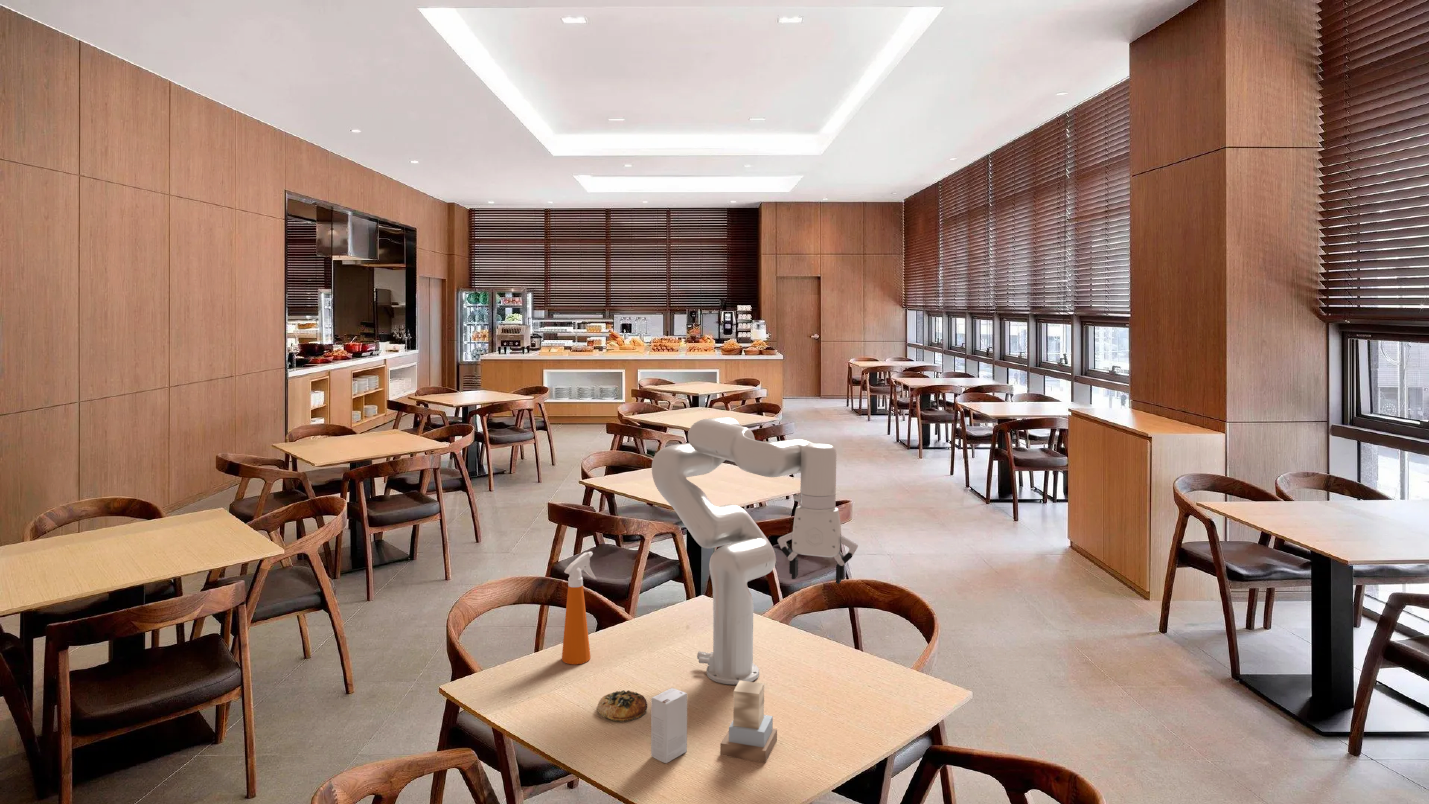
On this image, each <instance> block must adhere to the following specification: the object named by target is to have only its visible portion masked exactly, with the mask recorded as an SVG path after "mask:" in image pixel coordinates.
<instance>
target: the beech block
mask: <svg viewBox="0 0 1429 804" xmlns="http://www.w3.org/2000/svg"><path fill="white" fill-rule="evenodd" d="M732 707H733V708H732V709H733V718H732V721H733V726H738V727H746V728H753V729H759V727H760V725H761V723H762V721H763V718H764V715H765V683H764V682H757V681H756V682H755V681H752V682H749V681H739V682H738V684H736V686H735V687H734V690H733V706H732Z"/></svg>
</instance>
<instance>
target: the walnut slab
mask: <svg viewBox="0 0 1429 804" xmlns="http://www.w3.org/2000/svg"><path fill="white" fill-rule="evenodd" d="M777 741H778V729H777V728H773V731H772V733H771V735H770V737H769V739H768V741H767V743H766V745H765V747H758V746H751V745H745V744H739V743H733V742H729V730H728V731H727V733H726V734H725V735H724V737H723V739H722V740H721V741H720V756H725V757H730V758H736V759H741V760H747V761H754V762H758V763H764V764H766V763H767V761H768V759H769V757H770V755H771V753H772V751H773V749H774V747H775V745H776V743H777Z"/></svg>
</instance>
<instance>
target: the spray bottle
mask: <svg viewBox="0 0 1429 804" xmlns="http://www.w3.org/2000/svg"><path fill="white" fill-rule="evenodd" d="M593 554H594V553H593V551H587V552H586V551H585V552H584V553H582V554H580V555H579V556H578V557H576V558H575V560H573V561H572V562H571V563H569V565H568V566H567V567H566V568H565V569H564V573H565V574H568V575H569V577H568V578H567V579H568V582H567V583H568V584H567V585H568V586H567V592H566V593H567V595H566V605H565V607H566V608H565V617H564V628H563V629H564V631H563V640H562V642H563V643H562V651H561V660H562V662H563V663H565V664H567V665H575V666H576V665H582V664H585V663H588V662H589V661H590V659H591V650H590V649H591V648H590V639H589V629H588V620H587V612H586V611H587V610H586V600H585V594H584V581H583V580H584V577H583V576H582V571H583V572H584V573H586V574H587V575H588V576H589V577H590V578H591V579H594V580H598V578H597V577H596V576H595V574H594V572H593V571H592V568H591V565H590V563H591V560H590V559H591V557H592V556H593Z"/></svg>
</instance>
